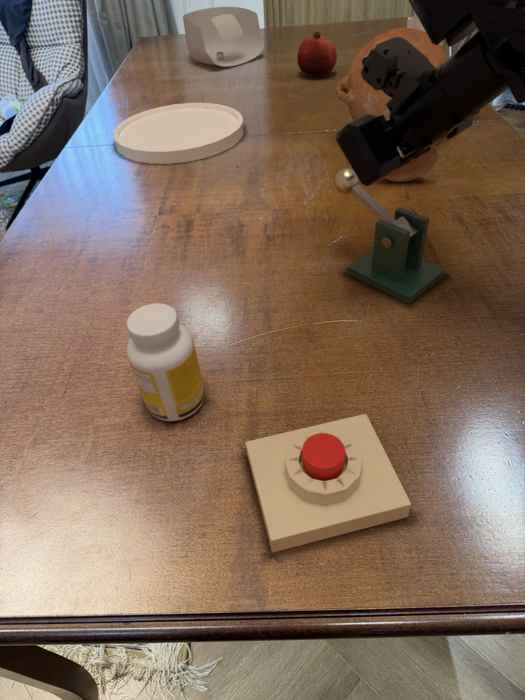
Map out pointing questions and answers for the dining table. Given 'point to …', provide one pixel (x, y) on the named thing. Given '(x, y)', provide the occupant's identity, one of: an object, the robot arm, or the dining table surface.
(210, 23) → the grey curved shell
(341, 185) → the lever
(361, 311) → the dining table surface
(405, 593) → the dining table surface
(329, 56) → the fruit
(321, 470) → the button
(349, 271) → the bracket
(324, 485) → the button box
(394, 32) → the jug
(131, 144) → the plate
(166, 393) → the pill bottle
